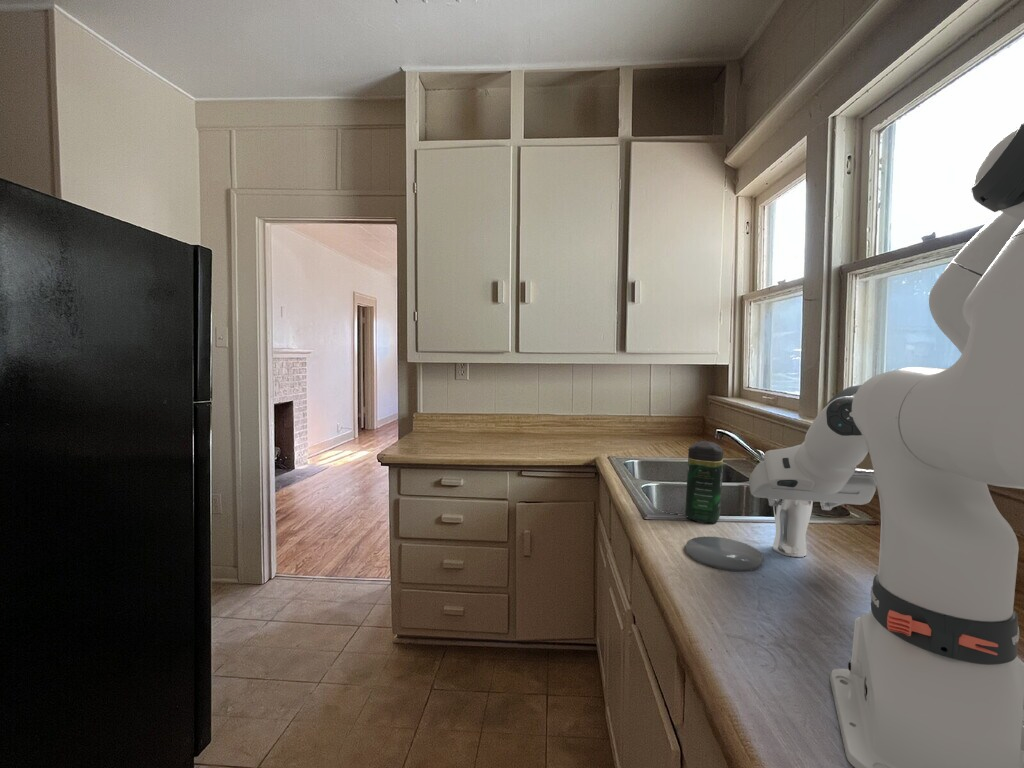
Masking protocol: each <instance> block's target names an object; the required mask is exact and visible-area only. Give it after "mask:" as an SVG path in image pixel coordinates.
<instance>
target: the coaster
mask: <svg viewBox="0 0 1024 768" xmlns="http://www.w3.org/2000/svg"><path fill="white" fill-rule="evenodd" d="M685 553H686V554H687V556H689V557H690V558H691V559H692V560H694V561H696V562H698V563H700V564H702V565H705V566H708V567H711V568H714V569H719V570H724V571H731V572H749V571H755V570H758V569H760V567H762V565H763V561H764V559H763V554H762V552H760V551H759V550H758V549H756V548H755V547H754V546H751V545H749V544H747V543H744V542H742V541H739V540H735V539H732V538H725V537H719V536H697V537H694V538H690V539H689V540H687V541H686V543H685Z"/></svg>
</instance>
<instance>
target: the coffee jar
mask: <svg viewBox="0 0 1024 768" xmlns="http://www.w3.org/2000/svg"><path fill="white" fill-rule="evenodd" d="M687 451H688V453H687V454H688V455H687V471H686V472H687V475H686V493H685V494H686V497H685V507H684V508H685V511H684V512H685V517H686V516H688V517H686V518H687V519H691V520H693V521H695V522H697V523H702V524H703V523H704V524H705V523H717V522H718V520H719V519H720V518H721V517H720V516H721V504H722V503H721V501H722V500H721V499H722V487H723V486H722V485H723V471H724V469H723V468H724V465H723V464H724V449H723V446H721V445H719V444H717V442H714V441H708V440H699V441H697V442H694V443H692V444H691V445H690V446H689V447H688V449H687Z"/></svg>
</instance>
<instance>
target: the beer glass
mask: <svg viewBox="0 0 1024 768" xmlns="http://www.w3.org/2000/svg"><path fill="white" fill-rule="evenodd" d="M778 500H779V505H778V506H772V507H773V508H772V509H773V517H774V525H775V537H774V540H773V544H772V549H773V550H774V552H776V553H778V554H780V555H783V556H786V557H790V556H791V557H792V558H804V556H805V557H807V555H808V550H807V544H806V541H807V540H806V539H807V538H806V537H807V530H808V527H809V523H810V520H811V516H812V511H813V503H814V501H801V500H788V499H778Z"/></svg>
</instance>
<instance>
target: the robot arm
mask: <svg viewBox="0 0 1024 768" xmlns="http://www.w3.org/2000/svg"><path fill="white" fill-rule="evenodd" d="M970 190H971V191H970V192H971V194H972V198H973V200H974V201H976V203H978V204H980V205H981V206H983V207H984V208H986V209H987V210H990V211H992V212H993V213H997V214H996V215H994V216H993V217H992V218H991V219H990V220H989V221H988V222H986V224H984V226H983V227H981V228H980V229H979V230H978V231H977V232H976V233H975V234H974V236H972V237H971V238H970V239H969V241H968V242H967V243H966V244H965V245H964V246H963V247H962V248H961V249H960V251H959V252H958V253H956V255H955V257H953V259H952V261H950V263H949V264H948V265H947V266H946V267H945V269H943V271H942V273H940V275H939V277H938V278H937V280H935V281H936V282H935V283H934V285H933V286H932V288H931V290H930V292H929V296H928V306H929V312H930V315H931V316H932V319H933V320H934V322H935V323H936V326H937V327H938V328H939V329H940V331H941V332H942V333H943V334H944V335H945V337H947V338H948V339H949V340H950V342H951V343H952V344H953V345H954V346H955V347H956V348H957V350H958V351H959V352H960V353H961V355H960V357H959V358H958V360H956V362H955V363H954V364H952V365H951V366H950V367H934V366H933V367H929V366H908V367H902V368H899V369H898V368H897V369H893V370H889V371H886V372H882V373H879V374H877V375H874V376H872V377H870V378H868V379H867V380H866V381H864V382H863V383H862V384H858V385H853V386H849V387H847V388H844V389H842V390H841V391H840V392H837V393H836V394H835V395H834V396H833V397H832V398H830V400H828V402H827V403H826V405H825V406H824V408H823V409H821V411H820V412H819V413H818V414H817V416H816V417H815V418H814V420H813V421H812V423H811V424H810V426H809V428H808V429H807V432H806V434H805V436H804V441H803V442H802V443H800V444H798V445H794V446H790V447H786V448H785V447H784V448H777V449H770V450H766V451H765V452H764V455H763V457H764V459H763V460H761V461H760V462H759V463H757V465H756V466H755V467H754V469H753V470H752V472H751V474H750V476H749V479H748V485H749V491H750V494H751V495H752V496H753V497H755V498H762V499H767V501H768V506H770V507H773V506H778V505H779V500H778V499H788V500H801V501H813V502H814V503H815V502H816V503H817V502H818V503H820V506H821V507H820V508H821V511H823V510H824V511H831V510H832V509H833V508H835V507H839V506H841V505H843V504H844V505H858V506H861V505H862V506H863V505H866V504H869V503H870V502H871V500H872V499H873V497H874V495H875V494H876V493H875V492H876V490H877V495H878V500H879V508H880V534H879V535H880V539H879V540H880V542H879V553H878V555H879V558H878V573H877V574H875V576H874V577H873V578H872V580H873V581H872V585H871V588H870V597H871V599H870V609H871V610H869V612H866V613H865V614H863V615H859V616H858V617H856V618H855V619H854V628H853V639H852V650H851V660H849V662H848V663H847V668H834V669H832V670H831V671H830V677H829V680H830V685H831V686H830V687H831V690H832V696H833V700H834V705H835V709H836V714H837V719H838V724H839V728H840V734H841V738H842V742H843V748H844V753H845V756H846V758H847V759H846V760H847V761H848V762H849V763H850V764H851V765H852V766H853V767H854V768H1024V662H1023V660H1021V658H1019V657H1018V642H1019V639H1020V627H1019V616H1018V613H1017V612H1016V611H1015V609H1014V604H1015V590H1016V581H1017V571H1018V559H1019V549H1020V548H1019V547H1020V546H1019V540H1018V538H1017V536H1016V533H1015V531H1014V529H1013V528H1012V526H1011V525H1010V523H1009V522H1008V521H1007V520H1006V519H1005V518H1004V517H1003V515H1002V514H1001V513H1000V511H999V509H998V508H997V506H996V504H995V502H994V500H993V498H992V495H991V492H990V490H989V487H988V485H990V486H994V487H995V486H996V487H1002V488H1011V489H1021V490H1024V122H1023V123H1020V124H1019V125H1017V127H1015V128H1014V129H1013V130H1012V131H1011V132H1008V133H1007V134H1006V135H1004V136H1003V137H1001V138H1000V139H999V140H998V141H997V142H996V143H995V144H994V145H993V146H992V147H991V148H990V149H988V151H987V152H986V154H985V155H984V156H983V158H982V159H981V161H980V162H979V164H978V166H977V168H976V171H975V174H974V178H973V182H972V184H971V186H970ZM868 453H869V456H870V462H871V466H872V469H865V468H857V466H858V465H860V464H861V463H862V462H863V461H864V460H865V458H866V457H867V455H868Z"/></svg>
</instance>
